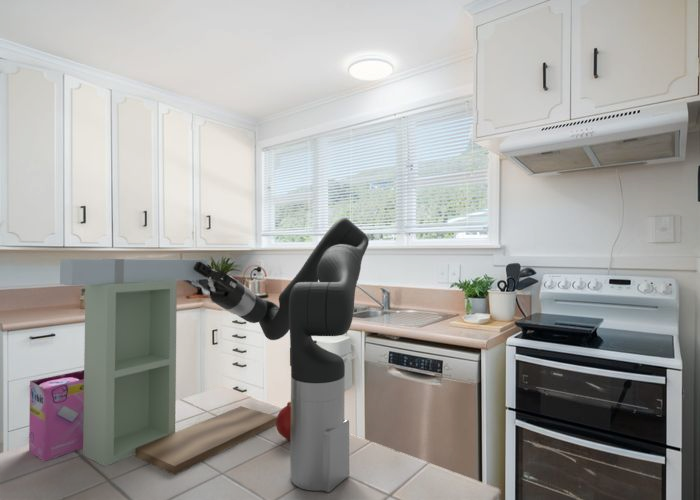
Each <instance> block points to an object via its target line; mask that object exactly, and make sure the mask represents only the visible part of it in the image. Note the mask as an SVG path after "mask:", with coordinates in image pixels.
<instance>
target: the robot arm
mask: <svg viewBox="0 0 700 500" xmlns="http://www.w3.org/2000/svg"><path fill="white" fill-rule="evenodd" d="M369 243H370V242H369V237H368V235H367V234H366V233H365V232H364V231H363V230H361V229H360V227H358V226H357V225H355V224H354V223H353V222H352V221H351V220H350V219H349V218H347V217H344V216H343V217H340V218H338V219H337V220H336V221H335V222H334V223H333V224H332V225H331V226H330V228H329V229H328V230H327V232H326V233H325V234H324V236H323V237H322V238H321V239H320V241H319V242H318V243H317V245H316V246H315V247H314V249H313V250H312V252H311V253H310V254H309V257H308V258H307V259H306V261H305V263H304V264H303V265H302V267H301V268H300V269H299V271H298V273H296V275H295V277H293V279H292V280H291V281H290V282H289V283H288V284H287V286H286V287H285V288H284V289H283V290H282V291H281V293H280V294H279V296H278V304H279V305H277V304H276V303H274V302H272V301H270V300H268V299H263V298H261V297H260V296H259V295H257V294H256V293H254V292H253V291H252V290H251V289H250V288H248V286H246V285H244V284H243V283H242V282H240V281H239V280H238V279H236V278H234V277H233V276H231V275H229V274H227V273H226V272H224V271H223V270H222V269H219V270H218V271H217V269H215V268H210V267H209V266H208V265H207V266H206V265H205V264H203V263H202V262H196V264H195V266H194V270H195V271H196V272H198V273H199V274H201V275H202V276H204V277H207V279H200V280H182V282H185V283H186V284H188V285H190V286H192V287H193V288H195V289H196V290H199V289H202V290H203V291H205V292H209V298H210V300H211V302H212V303H213V304H216V305H217V306H219V307H221V308H223V310H226V311H227V312H229V313H231V314H233V315H236V316H238V317H239V318H241V319H243V320H244V321H246V322H249V323H251V324H256V323H259V325H260V328H261V331H262V332H263V335H264V336H265V338H266V339H268V340H270V341H277V340H280V339H282V338H283V337H284V336H285V335H286V334H287V333H288V332H289V341H290V342H289V345H290V348H289V349H290V402H291V441H290V450H289V451H290V453H289V454H290V475H289V476H290V481H291V483H292V484H293V485H295V486H296V487H298V488H300V489H302V490H307V491H313V492H315V491H323V492H327V493H330V492H331V491H332V490H333V489H335V488H336V487H337V486H339V485H340V484H341V483H342V482H343V481H344V480H346V478H348V477H349V476H350V420H349V419H346V418H345V391H346V390H345V385H346V384H345V383H346V382H345V381H346V379H345V378H346V377H345V375H346V374H345V372H346V370H345V368H346V366H345V360H344V358H342V356H340V355H338V354H336V353H333V352H331V351H330V350H326V349H325V348H323V347H321V346H320V345H318V344H317V343H316V342H315V341H314V339H313V337H338V336H343V335H345V334H347V333H348V331H349V330H350V328H351V326H352V323H353V322H352V321H353V319H354V318H353V317H354V310H355V296H356V294H355V293H356V288H357V283H358V280H359V276H360V274H361V267H362V260H363V257H364V255H365V253H366V251H367V249H368V246H369Z"/></svg>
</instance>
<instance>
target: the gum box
mask: <svg viewBox="0 0 700 500" xmlns="http://www.w3.org/2000/svg"><path fill="white" fill-rule="evenodd" d="M83 419H84V369H83V370H78V371H73V372H68V373H63V374H58V375H53V376H49V377H45V378H44V377H43V378H39V379H34V380H30V381H29V426H28V427H29V428H28V429H29V433H28V435H29V436H28V437H29V438H28V444H29V445H28V451H29V452H30V453H32V454H33V455H34V456H36V457H37V458H39V459H40V460H42V461H43V462H45V461H48V460H51V459H54V458H57V457H60V456H64V455H66V454H70V453H73V452H76V451H77V450H81V449H83Z"/></svg>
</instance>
